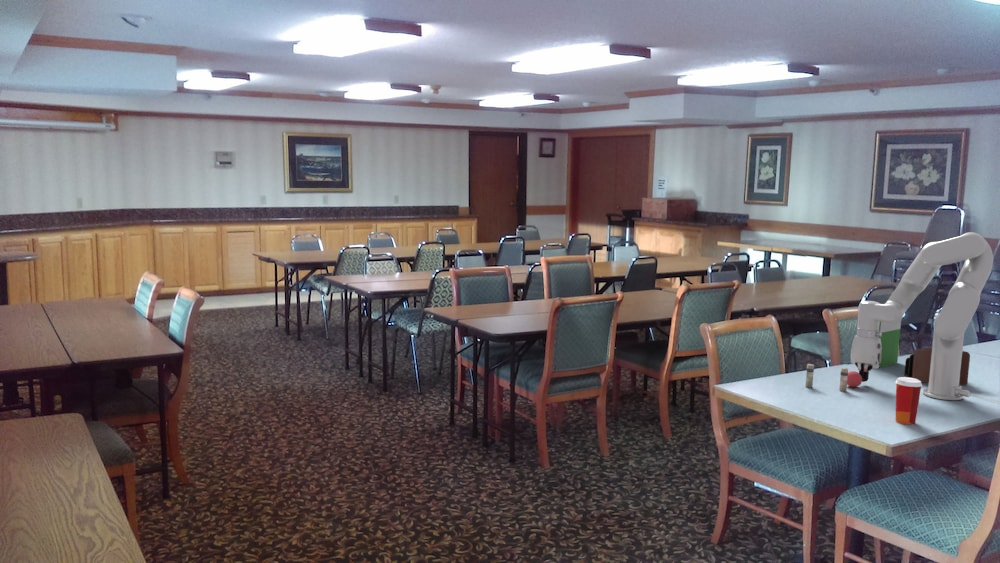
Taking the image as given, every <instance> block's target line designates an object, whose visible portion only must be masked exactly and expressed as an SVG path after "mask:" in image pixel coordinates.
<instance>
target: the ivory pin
mask: <svg viewBox="0 0 1000 563" xmlns="http://www.w3.org/2000/svg"><path fill="white" fill-rule="evenodd" d="M848 372H849V368H848V367H841V368H840V377H839V378H840V379H839V389H838V391H839V390H840V391H839V392H842V391H843V392H844V391H845V393H846V392H847V391H848V390H847V389H848V385H847V378H848Z"/></svg>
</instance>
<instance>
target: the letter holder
mask: <svg viewBox="0 0 1000 563" xmlns="http://www.w3.org/2000/svg"><path fill="white" fill-rule="evenodd" d="M931 354H932V347H929V348H928V347H927V348H925V347H924V348H917V349H914V351H913V353H911V354H910V355H909V357H907V358H906V359H905V363H904V365H905V366H904V372H903V373H904V374H903V377H908V378H915V379H918V380H920V381H921V384H922V383H923V384H929V375H930V364H931ZM970 354H971V353H969V352H968V351H965V350H963V351H962V359H961V369H960V379H959V385H967V386H968V385H969V384H968V381H969V380H968V379H969V369H970V360H971V355H970Z"/></svg>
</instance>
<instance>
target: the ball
mask: <svg viewBox="0 0 1000 563" xmlns="http://www.w3.org/2000/svg"><path fill="white" fill-rule="evenodd" d="M861 384H862V377H861V375H860V374H859V371H858V372H857V371H855V370H854V371H852V370H851V371H848V378H847V387H850V388H857V387H859V386H861Z"/></svg>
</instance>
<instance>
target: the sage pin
mask: <svg viewBox="0 0 1000 563" xmlns="http://www.w3.org/2000/svg"><path fill="white" fill-rule="evenodd" d="M814 367H815V365H814V364H813V363H807V364H806V372H805V373H806V375H805V376H806V377H805V387H806V388H808V387H809V388H811V387H812V388H813V384H814V374H815V373H814V371H815V368H814ZM812 388H811V389H812Z"/></svg>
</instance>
